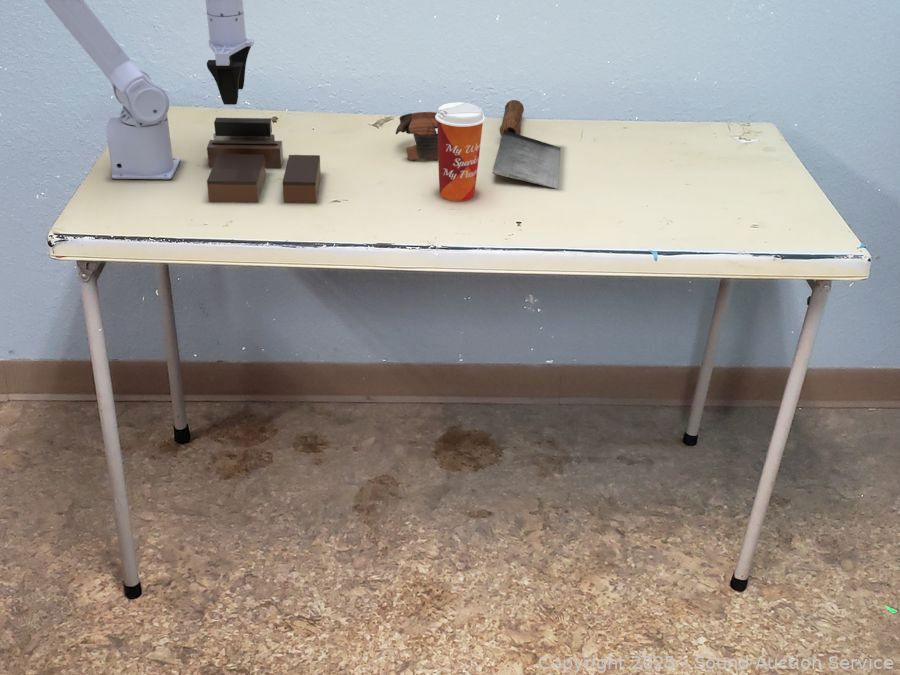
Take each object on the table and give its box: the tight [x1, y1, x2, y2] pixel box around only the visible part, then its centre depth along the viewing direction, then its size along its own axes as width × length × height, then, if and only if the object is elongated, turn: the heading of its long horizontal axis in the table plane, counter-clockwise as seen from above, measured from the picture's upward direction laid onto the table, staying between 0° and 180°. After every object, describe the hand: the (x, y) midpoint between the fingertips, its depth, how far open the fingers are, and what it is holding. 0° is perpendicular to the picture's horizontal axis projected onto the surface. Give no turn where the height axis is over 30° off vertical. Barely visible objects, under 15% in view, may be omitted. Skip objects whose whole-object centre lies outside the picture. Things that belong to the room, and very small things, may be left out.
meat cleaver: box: [491, 99, 562, 190], centre depth 170 cm, size 34×11×4 cm, turn 174°
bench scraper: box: [212, 117, 276, 146], centre depth 159 cm, size 10×2×8 cm, turn 93°
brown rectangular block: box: [282, 154, 322, 204], centre depth 152 cm, size 5×11×4 cm, turn 3°
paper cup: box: [435, 102, 486, 202], centre depth 149 cm, size 8×8×14 cm
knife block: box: [206, 139, 284, 169], centre depth 160 cm, size 12×4×4 cm, turn 93°
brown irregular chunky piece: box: [395, 111, 438, 161], centre depth 167 cm, size 12×10×8 cm
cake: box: [206, 154, 267, 203], centre depth 151 cm, size 8×11×4 cm
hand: (233, 96), depth 158 cm, fingers open, 7 cm apart
